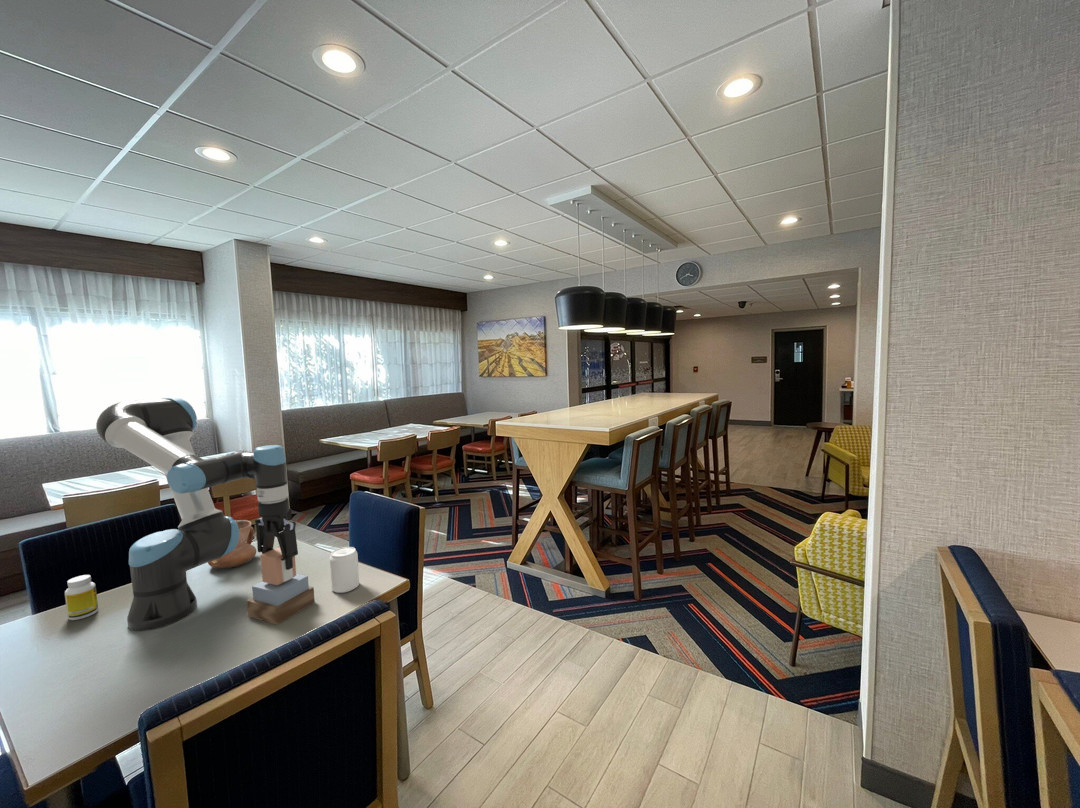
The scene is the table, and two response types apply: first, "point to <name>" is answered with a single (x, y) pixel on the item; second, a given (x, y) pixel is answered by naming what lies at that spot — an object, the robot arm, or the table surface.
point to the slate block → (280, 590)
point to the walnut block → (280, 607)
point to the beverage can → (344, 569)
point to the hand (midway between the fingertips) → (279, 577)
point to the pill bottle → (81, 598)
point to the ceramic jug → (238, 548)
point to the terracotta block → (273, 566)
